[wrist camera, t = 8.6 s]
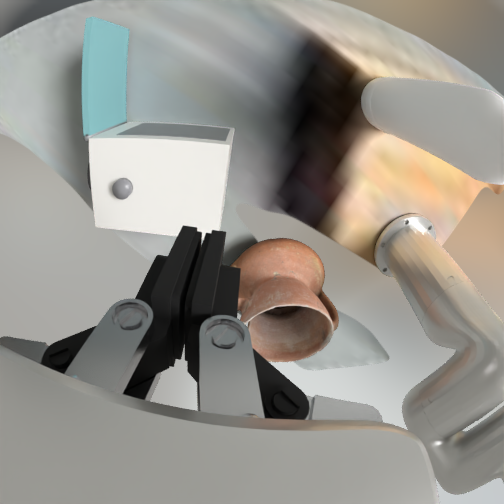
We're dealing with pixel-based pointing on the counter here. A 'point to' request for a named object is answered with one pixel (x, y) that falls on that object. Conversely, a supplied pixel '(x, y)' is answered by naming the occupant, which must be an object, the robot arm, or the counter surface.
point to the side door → (103, 76)
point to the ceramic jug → (284, 300)
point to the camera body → (160, 176)
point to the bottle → (442, 121)
